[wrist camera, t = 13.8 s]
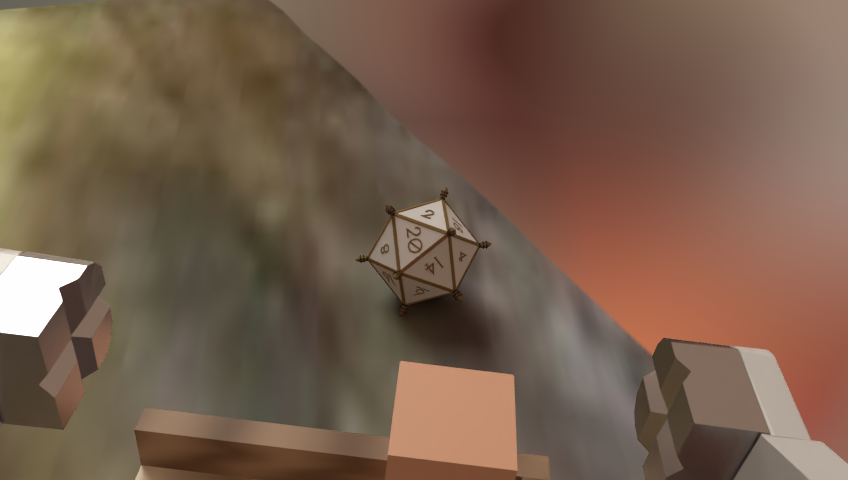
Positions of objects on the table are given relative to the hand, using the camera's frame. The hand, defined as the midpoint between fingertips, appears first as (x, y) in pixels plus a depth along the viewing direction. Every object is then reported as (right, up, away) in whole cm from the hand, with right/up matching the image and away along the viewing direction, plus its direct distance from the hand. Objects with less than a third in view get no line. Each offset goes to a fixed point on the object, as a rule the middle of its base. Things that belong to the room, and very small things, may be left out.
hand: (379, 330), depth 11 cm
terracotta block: (+1, -15, +26) cm, 31 cm away
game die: (0, -3, +45) cm, 46 cm away
